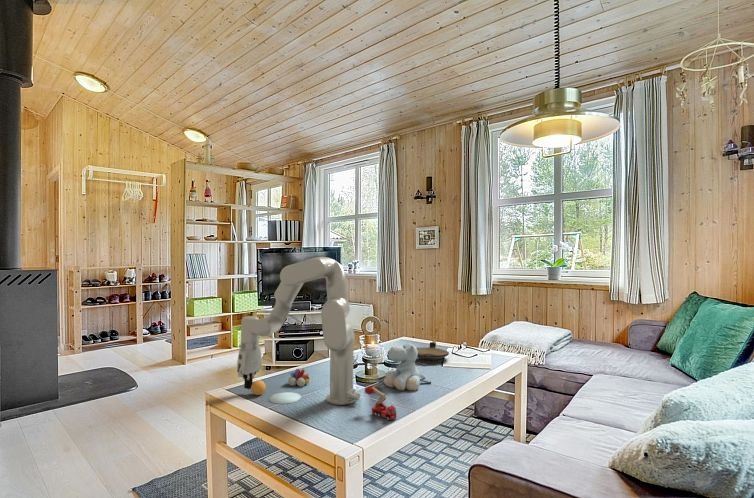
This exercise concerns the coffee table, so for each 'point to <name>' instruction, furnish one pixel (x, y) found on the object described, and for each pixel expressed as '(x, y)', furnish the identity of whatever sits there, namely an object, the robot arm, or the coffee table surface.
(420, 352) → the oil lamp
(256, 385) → the ball
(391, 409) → the toy fire truck
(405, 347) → the hippo plush
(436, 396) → the coffee table surface
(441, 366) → the coffee table surface
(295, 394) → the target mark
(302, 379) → the multicolored petal flower toy
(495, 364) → the coffee table surface
